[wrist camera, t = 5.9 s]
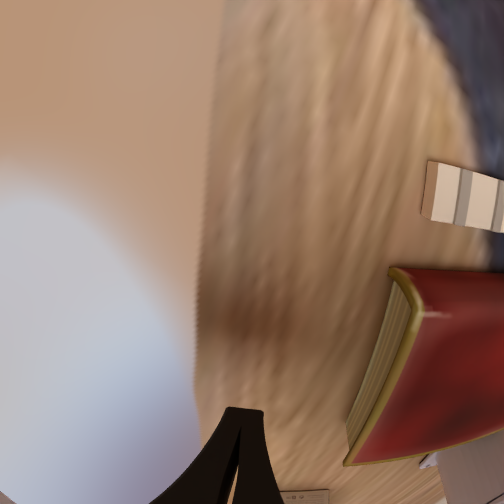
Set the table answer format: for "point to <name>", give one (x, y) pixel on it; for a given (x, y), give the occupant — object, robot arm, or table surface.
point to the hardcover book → (432, 367)
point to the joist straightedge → (463, 197)
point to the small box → (306, 497)
